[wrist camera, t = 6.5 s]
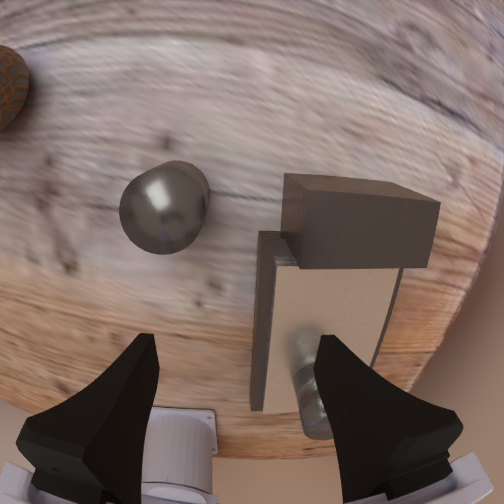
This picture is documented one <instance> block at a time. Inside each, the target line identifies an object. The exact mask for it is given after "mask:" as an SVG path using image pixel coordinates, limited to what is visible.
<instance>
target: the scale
mask: <svg viewBox="0 0 504 504" xmlns="http://www.w3.org/2000/svg"><path fill="white" fill-rule="evenodd" d="M440 204H441V202H439V201H436V200H434V199H432V198H429V197H427V196H425V195H422V194H420V193H417V192H415V191H412V190H410V189H407V188H405V187H402V186H400V185H397V184H394V183H392V182H385V181H376V180H367V179H357V178H347V177H336V176H324V175H310V174H294V173H284V188H283V203H282V218H281V231H259V233H258V253H257V273H256V292H255V311H254V329H253V348H252V366H251V384H250V408H251V411H262V413H263V414H276V413H290V412H299V408H298V404H297V399H296V395H295V391H294V386H293V380H294V377H295V375H296V374H297V373H298V372H299V371H300V370H301V369H302V368H303V367H305V366H306V365H308V364H310V363H313V362H315V359H316V355H317V351H318V347H319V342H320V338H321V335H333V334H334V335H335V336H336V337H338V338H339V339H340V340H341V341H342V342H343V343H344V344H345V345H346V346H347V347H348V348H349V349H350V350H351V351H352V352H353V353H354V354H355V355H356V356H358V357H359V358H360V359H361V360H362V361H363V362H364V363H365V364H367V365H368V366H369V367H370V368H371V369H372V368H373V365H374V363H375V360H376V357H377V354H378V352H379V349H380V346H381V343H382V340H383V337H384V334H385V331H386V328H387V325H388V322H389V319H390V316H391V312H392V309H393V306H394V302H395V299H396V295H397V292H398V288H399V284H400V280H401V277H402V273H403V269H404V268H427V264H428V260H429V256H430V252H431V248H432V244H433V239H434V235H435V230H436V225H437V220H438V215H439V210H440Z"/></svg>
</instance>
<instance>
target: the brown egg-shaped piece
mask: <svg viewBox="0 0 504 504" xmlns="http://www.w3.org/2000/svg"><path fill="white" fill-rule="evenodd" d="M28 90H29V72H28V67H27V65H26V63H25V61H24V60H23V58H22V57H21V56H20V55H19V54H18V53H17V52H16V51H14V50H13V49H11V48H9V47H6V46H3V45H0V131H1V130H3V129H4V128H5V127H7V126H8V125H9V124H10V123H11V122H12V121H13V120H14V119H15V118H16V116H17V115H18V113H19V112H20V110H21V109H22V107H23V105H24V103H25V100H26V97H27V94H28Z"/></svg>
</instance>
